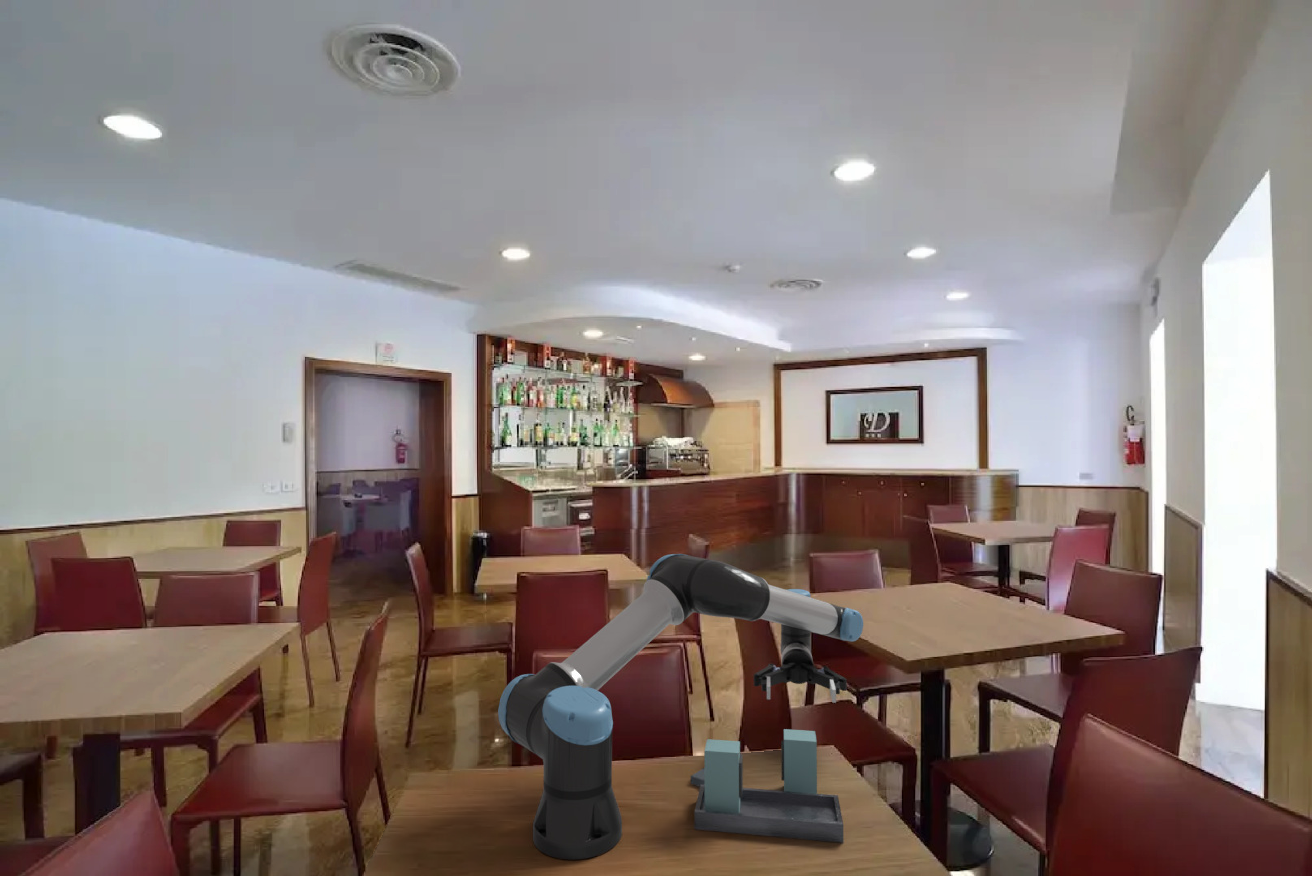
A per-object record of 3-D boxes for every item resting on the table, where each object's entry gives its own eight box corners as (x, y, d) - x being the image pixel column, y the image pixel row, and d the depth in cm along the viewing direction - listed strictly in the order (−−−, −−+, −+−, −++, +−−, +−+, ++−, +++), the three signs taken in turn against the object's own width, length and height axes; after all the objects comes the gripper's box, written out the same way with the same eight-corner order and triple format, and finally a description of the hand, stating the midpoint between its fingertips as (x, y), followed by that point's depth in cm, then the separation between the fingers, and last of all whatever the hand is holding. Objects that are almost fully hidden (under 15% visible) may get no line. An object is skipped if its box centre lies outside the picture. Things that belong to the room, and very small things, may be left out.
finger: (781, 798, 129) (781, 739, 129) (781, 785, 134) (781, 728, 134) (817, 800, 128) (816, 741, 128) (815, 788, 133) (815, 731, 133)
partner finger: (704, 813, 121) (704, 750, 121) (707, 799, 125) (707, 739, 126) (741, 816, 119) (741, 753, 120) (743, 802, 124) (742, 741, 125)
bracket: (689, 785, 135) (690, 775, 135) (719, 766, 143) (719, 757, 143) (706, 791, 132) (706, 781, 132) (735, 772, 140) (735, 762, 140)
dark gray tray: (694, 829, 118) (694, 811, 118) (700, 800, 128) (700, 784, 128) (843, 842, 114) (843, 824, 114) (838, 811, 124) (837, 795, 124)
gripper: (850, 681, 163) (862, 715, 142) (745, 676, 167) (741, 709, 146) (850, 650, 163) (861, 679, 142) (745, 645, 168) (741, 673, 147)
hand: (801, 694), depth 144 cm, fingers open, 13 cm apart
